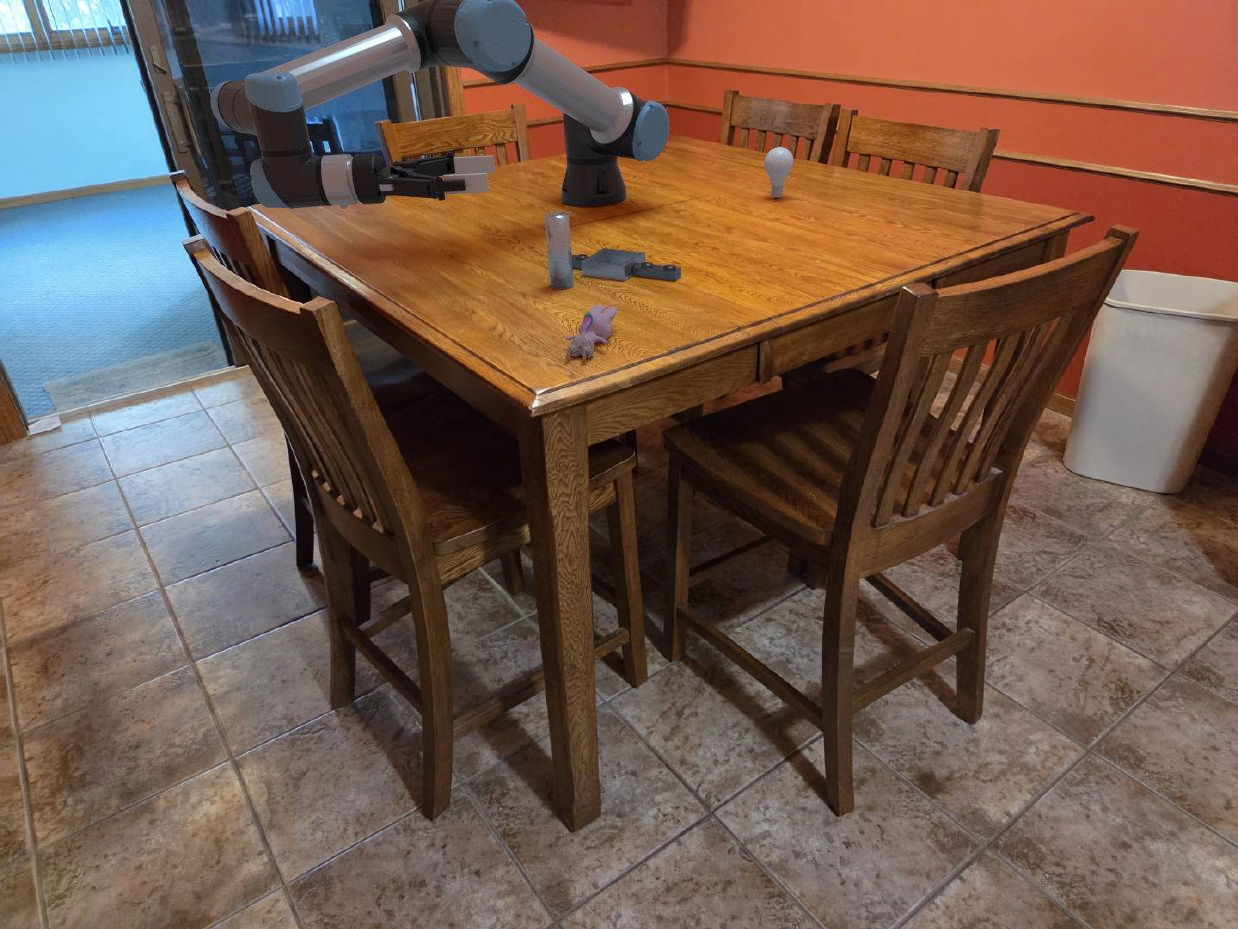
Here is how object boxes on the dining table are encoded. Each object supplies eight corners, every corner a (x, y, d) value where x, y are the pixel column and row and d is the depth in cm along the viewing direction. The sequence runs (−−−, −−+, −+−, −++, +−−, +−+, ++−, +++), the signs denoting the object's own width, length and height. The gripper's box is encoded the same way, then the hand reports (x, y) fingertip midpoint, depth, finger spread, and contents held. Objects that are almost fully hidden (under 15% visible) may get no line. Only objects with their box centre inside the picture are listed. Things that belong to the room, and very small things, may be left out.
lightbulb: (789, 194, 186) (793, 144, 180) (792, 201, 181) (795, 149, 175) (761, 195, 187) (764, 144, 181) (763, 202, 182) (765, 150, 176)
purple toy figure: (598, 374, 112) (630, 318, 123) (593, 337, 108) (626, 282, 119) (556, 369, 114) (591, 314, 124) (550, 333, 110) (586, 279, 121)
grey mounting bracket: (542, 270, 147) (541, 256, 146) (565, 256, 153) (564, 243, 152) (668, 286, 137) (668, 272, 136) (687, 271, 143) (687, 257, 142)
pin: (546, 287, 139) (539, 216, 133) (557, 280, 142) (552, 210, 136) (566, 290, 137) (561, 218, 131) (577, 283, 140) (573, 212, 134)
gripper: (376, 186, 141) (498, 180, 142) (343, 224, 120) (487, 217, 120) (367, 140, 137) (493, 134, 138) (332, 171, 116) (481, 164, 117)
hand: (491, 172), depth 129 cm, fingers open, 13 cm apart
